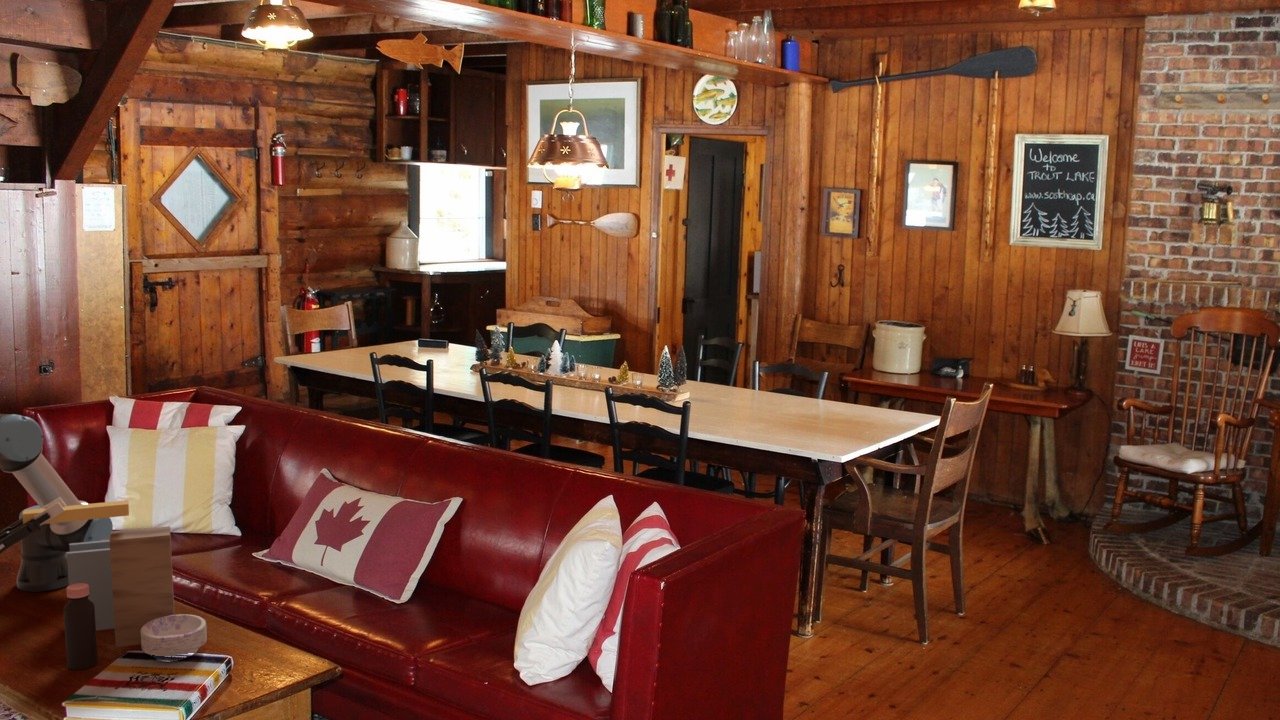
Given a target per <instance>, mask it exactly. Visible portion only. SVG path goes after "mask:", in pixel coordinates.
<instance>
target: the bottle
mask: <svg viewBox="0 0 1280 720" xmlns="http://www.w3.org/2000/svg"><path fill="white" fill-rule="evenodd" d="M65 589H66V597H67V600H68V602H67V603H66V604H65V605H64V606H63V623H64V640H65V653H66V654H65V655H66V667H67V668H68V669H70V670H72V671H81V670H82V671H83V670H87V669H90V668H93V667H95V666H96V665H97V664H98V661H99V657H98V645H97V644H98V641H97V631H96V624H95V607H94V603H93V602H92V601H90V600H89V599H88V596H89V585H88V584H86V583H76V584H72V585H67V586H66V588H65Z"/></svg>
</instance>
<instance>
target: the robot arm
mask: <svg viewBox="0 0 1280 720" xmlns="http://www.w3.org/2000/svg"><path fill="white" fill-rule="evenodd" d="M42 436H44V434H43V430H42V428H41V426H40V425H39V423H38V422H36V420H34V419H33V418H31V417H29V416H26V415H25V416H24V415H21V414H15V413H12V414H10V413H9V414H8V413H7V414H6V413H0V470H1V471H2V472H4V473H8V474H12V475H13V476H14V477H15V478H16V479H17V481H18V482H19V484H21V486H22V487H23V488H24V489H25V490H26V492H27V493H28V494H29V496H31V498H32V500H34V501H35V502H36V504H37V505H33V506H30V507H27V508H25V509H23V510H22V511H21V512H20V513H19V515H18V518H19V519H18V520H17V521H15V522H13V523H12V524H10V525H9V526H6V527H4V528H3V529H0V554H2V553H3V552H4V551H6V550H7V549H9V548H10V547H12V546H14V545H16V544H17V543H18V542H20V552H21V561H20V565H19V568H18V573H17V576H16V580H15V581H16V588H17V589H18V590H19V591H23V592H29V593H30V592H32V593H36V592H37V593H38V592H39V593H40V592H47V591H52V590H57V589H62V588H64V587H68V586H69V579H68V564H67V552H70V548H69V544H70V543H81V542H92V541H101V540H103V539H107V538H110V535H111V531H114V530H113V529H114V525H113V521H112V519H111V517H109V518H99V519H89V520H79V521H69V522H59V523H49V524H44V523H46V522H48V521H49V520H51V519H53V518H54V517H56V516H57V515H59V514H61V513H62V512H64V511H65V510H64V508H63V507H62V506H72V505H83V504H89V503H88V502H87V501H85V500H79V499H78V498H77V496H76V495H75V494H74V493H73V492H72V490H71V489H70V488H69V486H68V485H67V484H66V482H64V481H65V480H63V479H62V478H61V476H60V475H59V473H58V472H57V471H56V470H55V469H54V468H53V466H52V465H51V463H50V462H49V461H48V459H47V458H45V455H44V454H43V445H44V438H43V437H42ZM41 508H47V509H46V510H44V511H42V512H41V513H39V514H37V515H36V516H34V518H35V520H34V519H31V520H29V521H28V522H26V523H24V524H23V516H22V514H23V512H24V510H30V509H41Z"/></svg>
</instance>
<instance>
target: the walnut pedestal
mask: <svg viewBox="0 0 1280 720" xmlns="http://www.w3.org/2000/svg"><path fill="white" fill-rule="evenodd" d="M171 535H172V534H171V526H170V525H169V526H157V527H147V528H135V529H123V530H113V531H111V535H110V540H109V541H110V558H111V575H112V592H113V609H114V626H115V628H114V638H115V639H114V641H115V647H116V648H120V647H128V646H129V647H130V646H137V645H141V632H140V631H141V628H142V627H143V626H144V625H145V624H146V623H148V622H150V621H152V620H154V619H157V618H160V617H164V616H169V615H176V614H175V601H174V600H175V598H174V596H175V595H174V577H173V559H172V557H173V556H172V541H171V539H172V538H171Z"/></svg>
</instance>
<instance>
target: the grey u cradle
mask: <svg viewBox="0 0 1280 720" xmlns="http://www.w3.org/2000/svg"><path fill="white" fill-rule="evenodd" d="M69 548H70V552H66V553H67V564H68V579H69V585H72V584H76V583H86V584H88V585H89V596H88V599H89V600H90V601H92V602H93V603H94V607H95V624H96V632H98V631H104V630H109V629H110V630H111V629H114V630H115V626H114V609H113V592H112V575H111V558H110V541H109V540H103V541H92V542H81V543H70V544H69ZM69 585H68V586H69Z"/></svg>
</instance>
